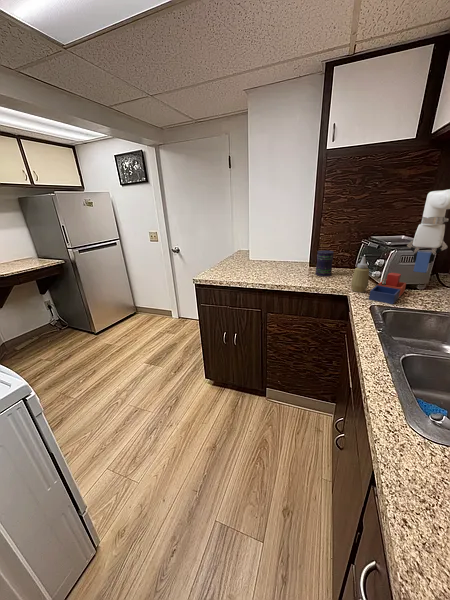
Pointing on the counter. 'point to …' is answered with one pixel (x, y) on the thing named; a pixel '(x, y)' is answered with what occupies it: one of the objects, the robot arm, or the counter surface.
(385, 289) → the blue bin
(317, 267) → the storage jar
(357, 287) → the squeeze bottle
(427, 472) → the counter surface
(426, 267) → the blue block
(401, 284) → the red bin
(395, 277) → the red block
